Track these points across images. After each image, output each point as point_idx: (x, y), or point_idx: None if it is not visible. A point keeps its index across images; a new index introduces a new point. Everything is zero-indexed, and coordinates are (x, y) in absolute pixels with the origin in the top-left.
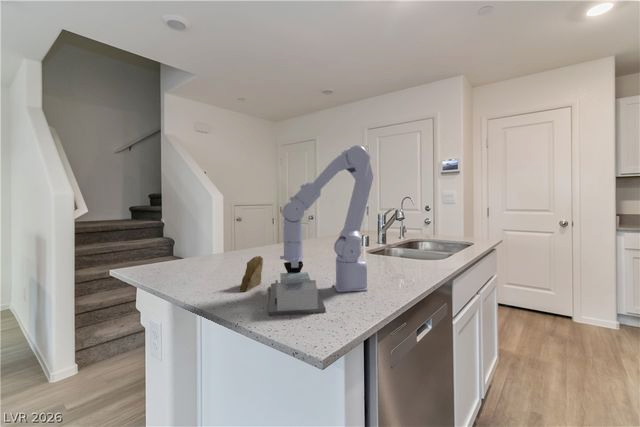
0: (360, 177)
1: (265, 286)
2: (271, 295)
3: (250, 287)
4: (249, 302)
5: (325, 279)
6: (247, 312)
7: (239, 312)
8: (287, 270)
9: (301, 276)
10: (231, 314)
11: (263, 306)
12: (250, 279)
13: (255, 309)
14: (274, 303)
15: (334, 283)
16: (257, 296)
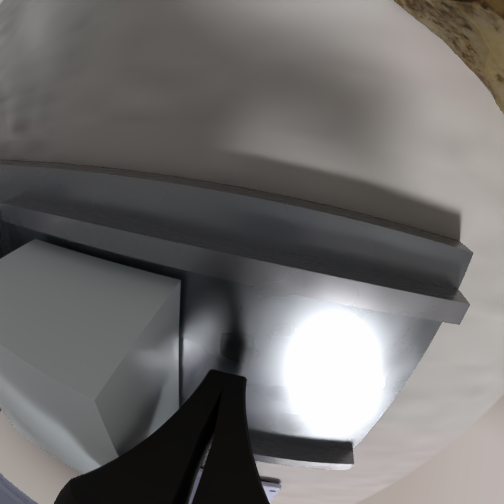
0: None
1: (484, 198)
2: (103, 185)
3: (461, 52)
4: (104, 28)
5: (378, 479)
6: (3, 62)
7: (14, 27)
8: (102, 467)
9: (33, 432)
10: (13, 5)
11: (30, 126)
12: (468, 10)
13: (14, 90)
14: (1, 191)
15: (277, 489)
16: (217, 68)
